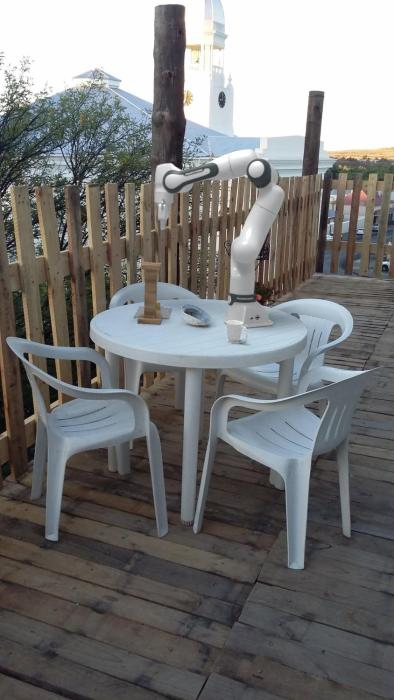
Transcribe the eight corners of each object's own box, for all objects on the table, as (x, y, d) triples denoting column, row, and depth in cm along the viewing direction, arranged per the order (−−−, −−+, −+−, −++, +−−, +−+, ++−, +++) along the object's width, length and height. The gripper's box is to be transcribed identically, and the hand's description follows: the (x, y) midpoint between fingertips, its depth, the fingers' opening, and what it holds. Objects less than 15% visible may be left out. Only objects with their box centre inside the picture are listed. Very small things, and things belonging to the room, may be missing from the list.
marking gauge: (149, 307, 284) (149, 295, 282) (161, 307, 284) (162, 295, 282) (147, 314, 268) (147, 302, 266) (160, 315, 268) (160, 302, 266)
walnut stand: (140, 318, 263) (141, 261, 255) (162, 319, 263) (163, 262, 255) (137, 323, 253) (138, 264, 246) (160, 324, 253) (161, 266, 246)
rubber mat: (139, 307, 285) (139, 306, 285) (171, 308, 285) (171, 307, 285) (134, 317, 264) (134, 316, 264) (168, 319, 264) (168, 318, 264)
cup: (232, 338, 237) (233, 319, 235) (251, 343, 231) (253, 324, 228) (221, 341, 232) (222, 321, 229) (241, 346, 226) (242, 326, 223)
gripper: (169, 200, 260) (168, 231, 263) (172, 198, 279) (171, 227, 283) (155, 199, 260) (154, 230, 264) (159, 198, 279) (158, 227, 283)
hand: (163, 229), depth 274 cm, fingers open, 8 cm apart
